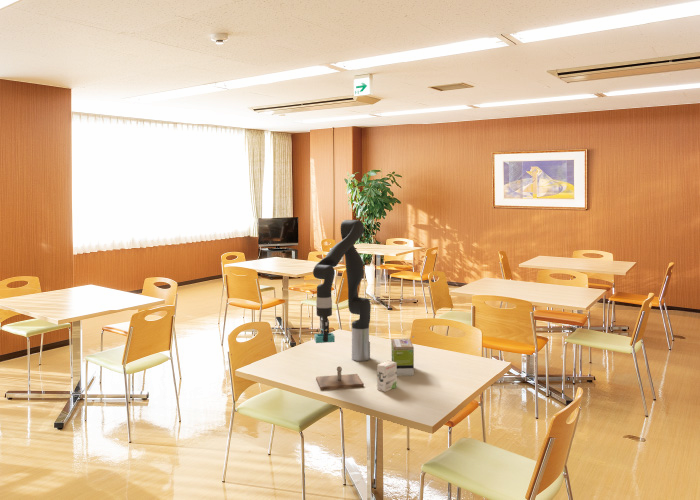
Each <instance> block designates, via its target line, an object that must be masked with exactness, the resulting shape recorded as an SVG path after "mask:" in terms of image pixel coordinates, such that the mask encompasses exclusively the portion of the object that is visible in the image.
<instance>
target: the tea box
mask: <svg viewBox="0 0 700 500" xmlns="http://www.w3.org/2000/svg"><path fill="white" fill-rule="evenodd" d="M390 345H391V348H390V349H391V361H393V362H396V363H397V376H399V377H401V375H405V376H414V373H415V369H414V365H415V363H414V361H415V359H414V358H415V357H414V355H415V353H414V352H415V350H414V349H415V348H414V345H413V343H412V341H411V338H391V344H390Z"/></svg>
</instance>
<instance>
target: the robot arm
mask: <svg viewBox="0 0 700 500" xmlns="http://www.w3.org/2000/svg"><path fill="white" fill-rule="evenodd" d="M364 230H365V226H364V223H363V222H362V220H358V219H343V221H341V223H340V237H341V240H340V241H338V242H337V243H336V244H335V245H333V246H332V247H331V248H330V250H328V253H326V255H325V257H323V258H322V259H321V260H319V261H318V262H317V263H316V265H314V267H313V270H312V275H313V277H314V278H316V279H317V280H323V283H319V284H318V285H317V286H316V303H315V304H316V306H315V307H316V308H315V309H316V316H317V317H319V328H320V334H322V333H323V341H324V342H327V341H328V334H329V333H330V320H329V318H328V317H331V316H332V315H333V299H332V289H333V288H332V287H333V282H334V281H335V280H334V279H335V274H336V272H335V268H334V267H337V266H338V265H339V263H340V262H341V260H342V259H343V257H344V260H345V261H344V262H345V272H346V280H347V302H348V303H347V304H348V305H347V306H348V310H349V313H350V314H352V315H358V316H359V318H358V319H357V320H356V319H355V320H354V321H352V322H351V359H352V360H353V361H357V362H364V361H368V360H369V361H370V360H371V341H370V323H371V312H372V311H371V310H372V309H371V308H372V307H371V306H372V305H371V301H370V299H369V298H367V297H361V296H359V293H358V292H359V289H358V288H359V285H360V283H361V282H362V279H363V277H364V274H365V269H364V267H365V266H364V261H363V259H362V256H361V255H360V254H359V252H358V250H357V249H356V247H355V243H357V241H358V240H359V239H360V238H361V237H362V235H363V234H364ZM327 343H328V342H327Z"/></svg>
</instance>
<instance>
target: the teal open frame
mask: <svg viewBox="0 0 700 500" xmlns="http://www.w3.org/2000/svg"><path fill="white" fill-rule="evenodd" d="M313 338H314V342H315V343H316V344H320V343H321V344H322V343H335V338H336V337H335V334H334V333H333V332H329V334H328V341H327V342H324V341H323V333H322V334H321V333H314V336H313Z"/></svg>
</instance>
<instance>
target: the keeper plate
mask: <svg viewBox="0 0 700 500" xmlns="http://www.w3.org/2000/svg"><path fill="white" fill-rule="evenodd" d="M336 371H337V373H336V374H335V375H324V376H323V375H322V376H316V377H315V381H316V383H317V385H318V387H319V389H320V391H324V390H325V391H326V390H327V391H328V390H340V389H352V388H353V389H354V388H362V387H363V388H364V384H365V383H364V382H363V381H362V379H361V377H360V376H359V375H358V373H351V374H342V371H343V368H342V366H337V367H336Z"/></svg>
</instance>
